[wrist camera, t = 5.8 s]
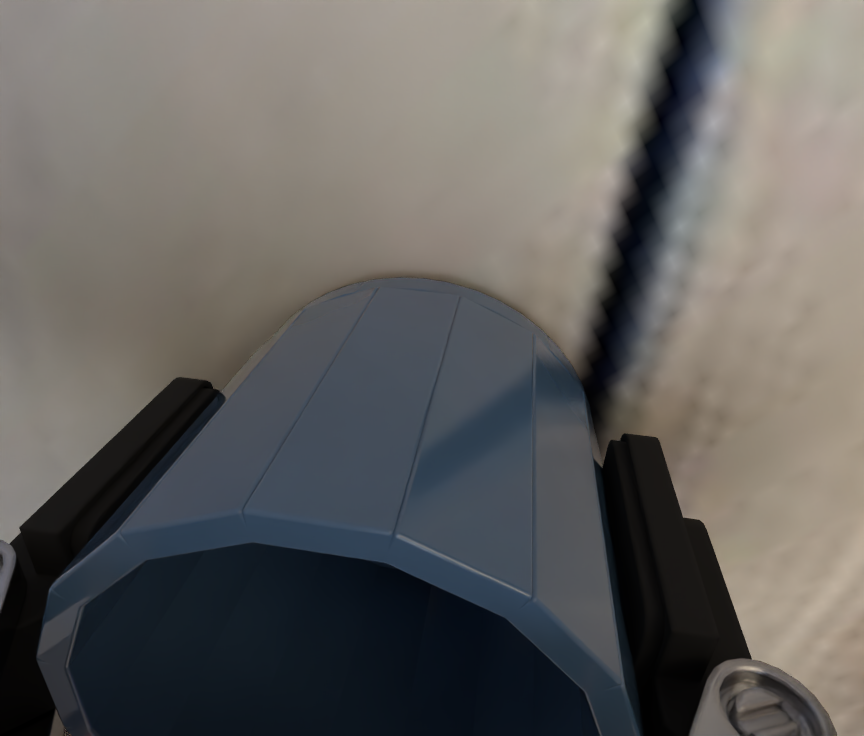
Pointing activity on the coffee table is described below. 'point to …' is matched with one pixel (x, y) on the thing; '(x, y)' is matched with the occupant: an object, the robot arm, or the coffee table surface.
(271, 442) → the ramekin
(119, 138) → the coffee table surface
